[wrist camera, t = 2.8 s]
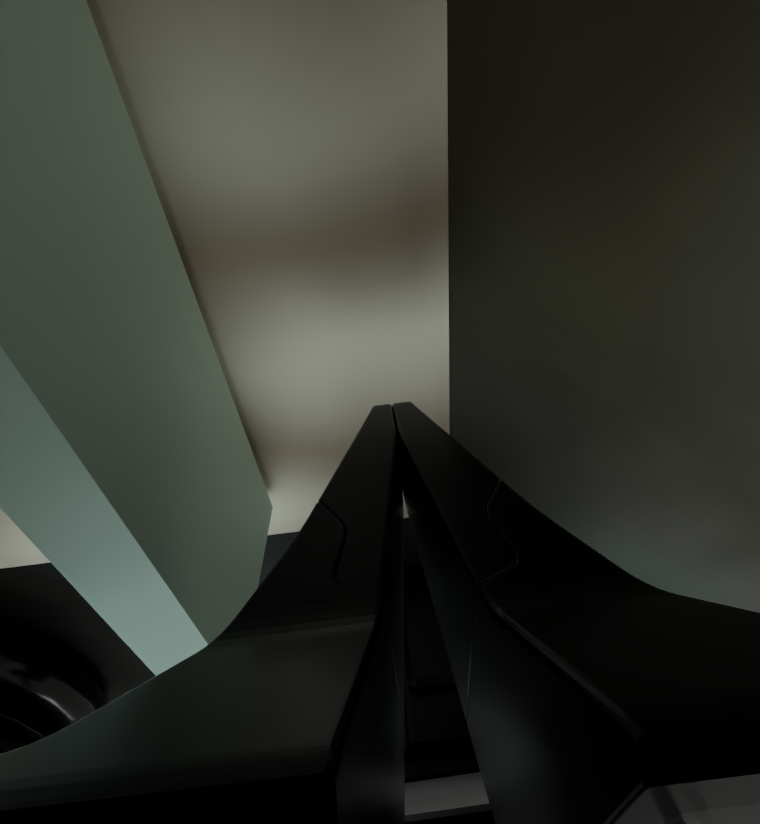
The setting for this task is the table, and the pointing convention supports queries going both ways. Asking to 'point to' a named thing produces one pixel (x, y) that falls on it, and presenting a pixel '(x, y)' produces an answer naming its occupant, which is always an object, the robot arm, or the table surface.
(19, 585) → the table surface
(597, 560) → the robot arm
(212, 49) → the gate base
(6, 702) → the amphora vase
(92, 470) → the gate
